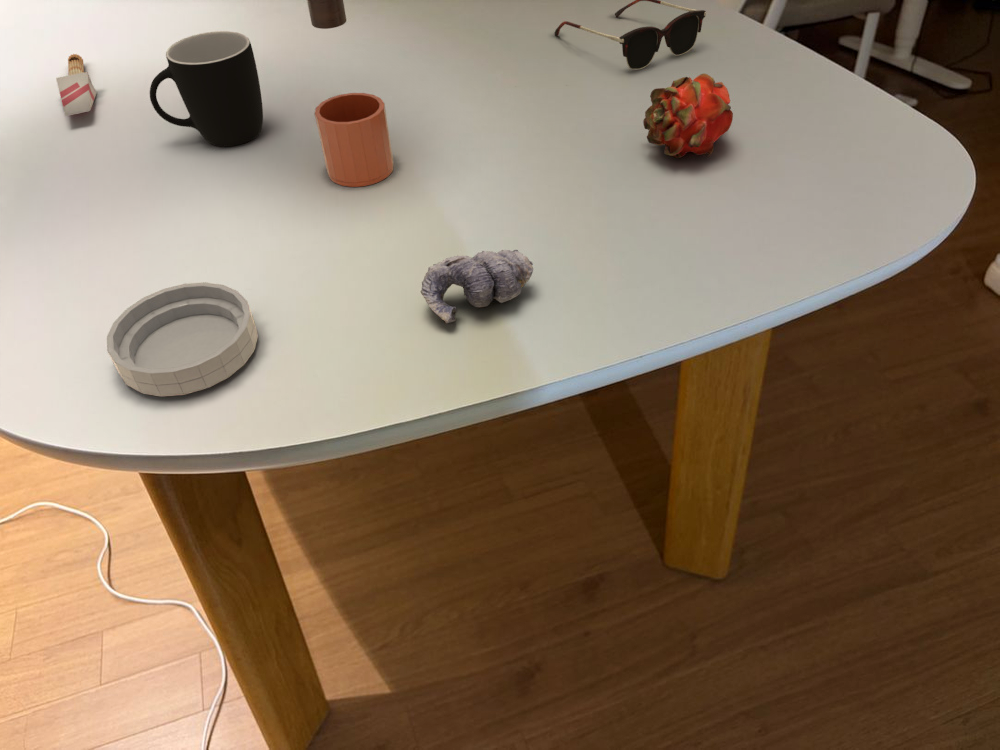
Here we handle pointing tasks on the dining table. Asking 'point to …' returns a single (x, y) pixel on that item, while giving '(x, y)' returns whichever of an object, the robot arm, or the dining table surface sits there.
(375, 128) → the cup
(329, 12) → the muddler
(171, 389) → the dish
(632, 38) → the sunglasses
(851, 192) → the dining table surface
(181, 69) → the mug
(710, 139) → the dragon fruit
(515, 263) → the seashell
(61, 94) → the churro
